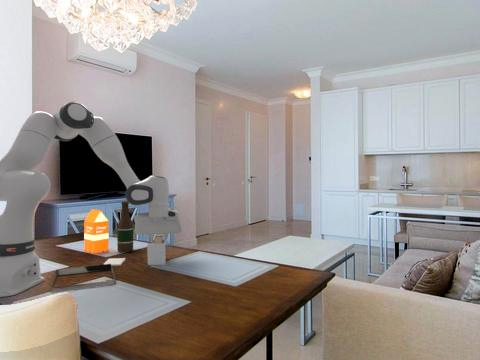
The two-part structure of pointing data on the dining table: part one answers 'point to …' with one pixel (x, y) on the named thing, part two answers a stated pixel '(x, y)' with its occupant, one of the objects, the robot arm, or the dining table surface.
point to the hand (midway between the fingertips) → (158, 243)
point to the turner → (158, 239)
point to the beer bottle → (125, 230)
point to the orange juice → (96, 232)
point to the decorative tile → (83, 270)
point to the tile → (156, 253)
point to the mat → (115, 261)
